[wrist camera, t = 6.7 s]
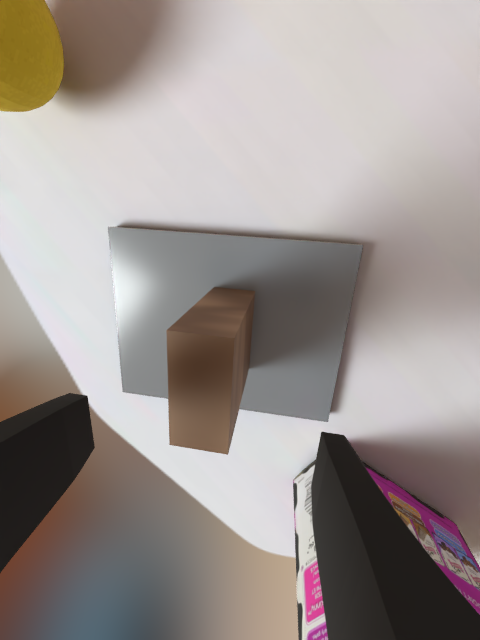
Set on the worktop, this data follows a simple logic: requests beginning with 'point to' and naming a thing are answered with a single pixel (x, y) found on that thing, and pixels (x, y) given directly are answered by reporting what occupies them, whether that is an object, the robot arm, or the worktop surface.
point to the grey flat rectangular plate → (268, 317)
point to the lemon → (28, 55)
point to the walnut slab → (209, 369)
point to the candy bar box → (420, 519)
